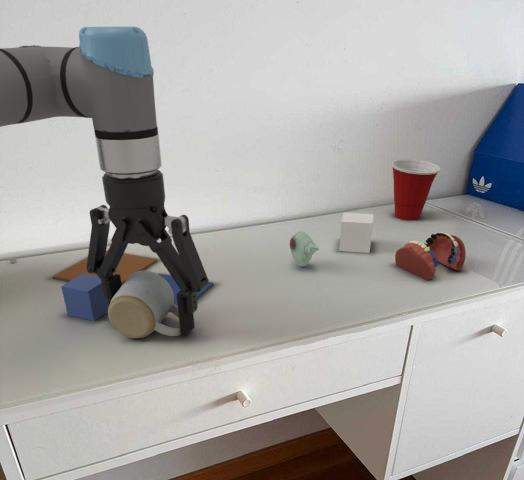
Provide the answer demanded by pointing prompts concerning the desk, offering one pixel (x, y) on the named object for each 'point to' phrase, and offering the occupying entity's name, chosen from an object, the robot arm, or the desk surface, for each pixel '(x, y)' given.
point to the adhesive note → (356, 232)
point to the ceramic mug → (143, 306)
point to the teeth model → (431, 255)
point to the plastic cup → (412, 186)
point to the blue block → (85, 297)
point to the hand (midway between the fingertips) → (152, 324)
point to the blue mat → (177, 289)
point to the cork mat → (124, 269)
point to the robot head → (302, 248)
